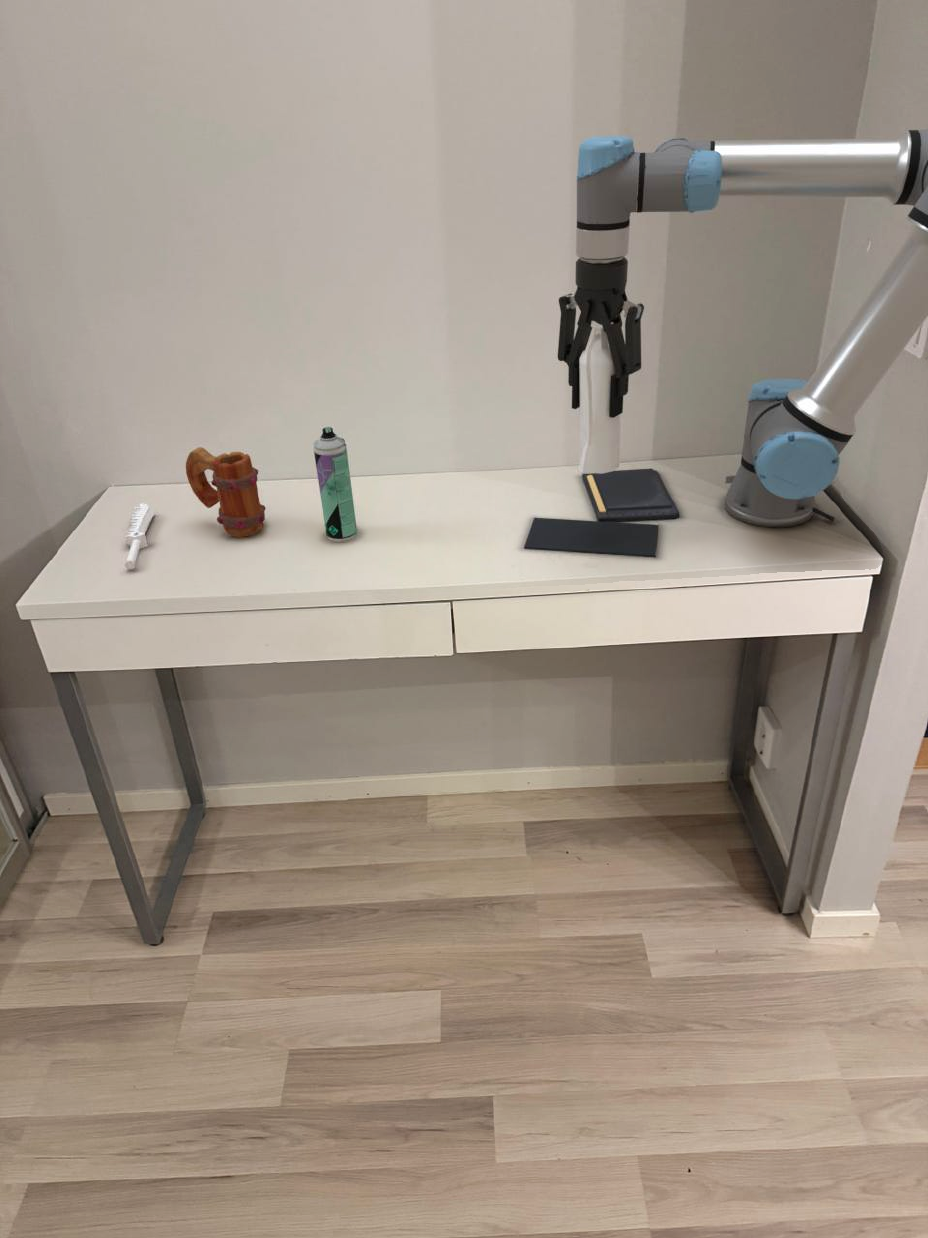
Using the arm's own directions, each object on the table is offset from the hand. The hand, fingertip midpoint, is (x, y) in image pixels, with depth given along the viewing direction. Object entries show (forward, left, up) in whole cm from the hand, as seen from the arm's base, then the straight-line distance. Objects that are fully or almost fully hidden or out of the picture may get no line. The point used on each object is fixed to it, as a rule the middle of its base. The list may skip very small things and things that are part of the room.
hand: (596, 410), depth 143 cm
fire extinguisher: (0, 0, -10) cm, 10 cm away
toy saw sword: (+80, +12, -23) cm, 84 cm away
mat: (0, 0, -23) cm, 23 cm away
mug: (+65, +5, -23) cm, 69 cm away
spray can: (+44, +5, -23) cm, 50 cm away
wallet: (-5, -17, -23) cm, 29 cm away
